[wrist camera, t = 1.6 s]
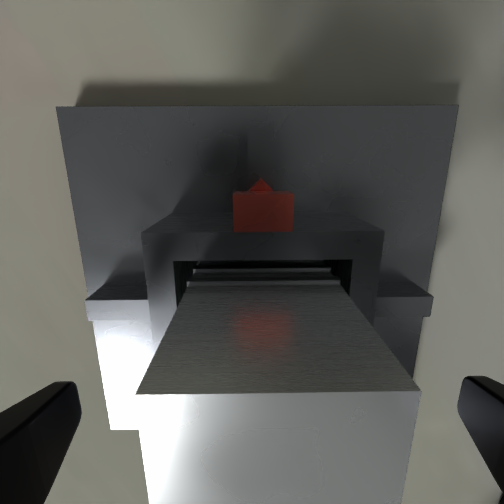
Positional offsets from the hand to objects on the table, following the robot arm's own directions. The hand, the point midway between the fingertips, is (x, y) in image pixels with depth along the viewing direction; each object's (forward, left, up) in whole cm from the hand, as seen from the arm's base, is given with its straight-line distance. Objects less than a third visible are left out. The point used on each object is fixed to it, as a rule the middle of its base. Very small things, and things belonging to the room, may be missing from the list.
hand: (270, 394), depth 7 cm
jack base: (0, 0, -7) cm, 7 cm away
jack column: (0, 0, -5) cm, 5 cm away
